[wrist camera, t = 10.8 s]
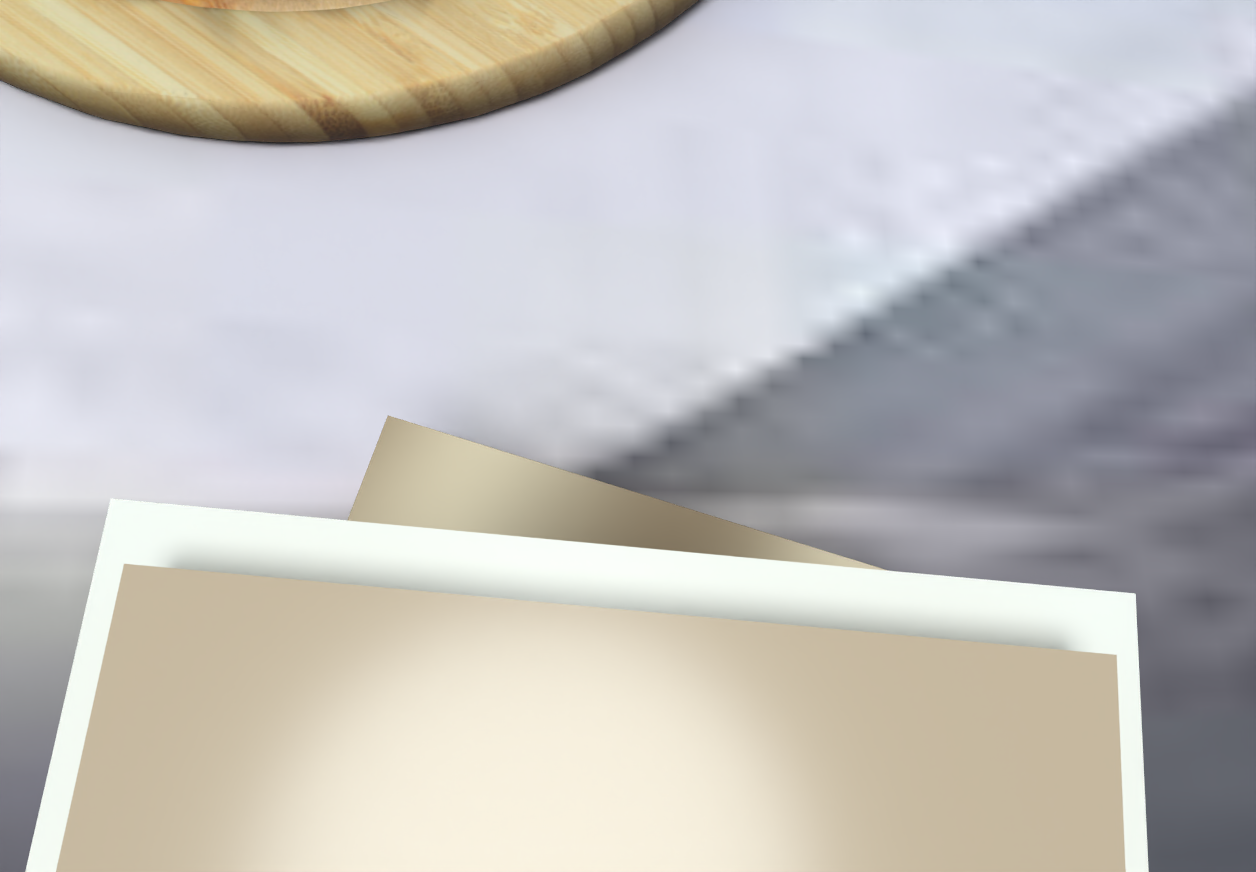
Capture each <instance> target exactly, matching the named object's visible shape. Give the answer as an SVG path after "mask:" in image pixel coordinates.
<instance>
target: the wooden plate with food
mask: <svg viewBox="0 0 1256 872" xmlns="http://www.w3.org/2000/svg"><path fill="white" fill-rule="evenodd" d="M697 1H699V0H0V80H2V81H4V82H6V83H8V84H10V85H13V86H15V87H17V88H20V89H22V90H25V91H28V92H30V93H33V94H36V95H38V96H41V97H44V98H46V99H49V100H52V101H54V102H57V103H60V104H63V105H65V106H68V107H71V108H73V109H76V110H79V111H82V112H85V113H88V114H91V115H94V116H97V117H100V118H103V119H107V120H112V121H117V122H122V123H127V124H132V125H137V126H142V127H147V128H152V129H156V130H161V131H166V132H170V133H175V134H180V135H188V136H196V137H204V138H214V139H223V140H237V141H258V142H322V141H333V140H345V139H356V138H366V137H375V136H382V135H388V134H393V133H399V132H404V131H409V130H415V129H420V128H425V127H430V126H434V125H439V124H444V123H448V122H453V121H457V120H462V119H466V118H471V117H475V116H479V115H482V114H485V113H487V112H490V111H493V110H496V109H499V108H502V107H505V106H508V105H511V104H513V103H516V102H519V101H522V100H525V99H528V98H531V97H533V96H536V95H539V94H542V93H544V92H547V91H549V90H552V89H554V88H557V87H559V86H561V85H563V84H565V83H567V82H569V81H572V80H574V79H576V78H578V77H580V76H582V75H584V74H586V73H589V72H590V71H592V70H594V69H595V68H597V67H599V66H601V65H602V64H604V63H606V62H607V61H609V60H611V59H613V58H614V57H616V56H618V55H619V54H621V53H623V52H625V51H626V50H628V49H630V48H631V47H633V46H635V45H636V44H638V43H639V42H641V41H643V40H644V39H646V38H647V37H649V36H651V35H652V34H654V33H656V32H657V31H659V30H660V29H662V28H664V27H665V26H666V25H667V24H669V23H670V22H671V21H673V20H674V19H675V18H676V17H678V16H679V15H680V14H682V13H683V12H684V11H686V10H687V9H688V8H689V7H691V6H692V5H693V4H695V3H696V2H697Z"/></svg>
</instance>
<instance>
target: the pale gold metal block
mask: <svg viewBox="0 0 1256 872" xmlns="http://www.w3.org/2000/svg"><path fill="white" fill-rule="evenodd" d="M347 521H358V522H369V523H379V524H390V525H401V526H412V527H422V528H433V529H444V530H455V531H465V532H476V533H487V534H498V535H509V536H519V537H530V538H541V539H552V540H562V541H573V542H584V543H595V544H605V545H616V546H627V547H638V548H649V549H659V550H670V551H681V552H692V553H702V554H713V555H724V556H735V557H745V558H756V559H767V560H778V561H789V562H799V563H810V564H821V565H832V566H842V567H853V568H864V569H875V570H885V569H882V568H878V567H875V566H872V565H869V564H865V563H862V562H859V561H856V560H852V559H849V558H846V557H843V556H840V555H836V554H833V553H830V552H827V551H823V550H820V549H817V548H814V547H811V546H807V545H804V544H801V543H798V542H794V541H791V540H788V539H785V538H782V537H778V536H775V535H772V534H769V533H765V532H762V531H759V530H756V529H752V528H749V527H746V526H743V525H740V524H736V523H733V522H730V521H727V520H723V519H720V518H717V517H714V516H711V515H707V514H704V513H701V512H698V511H694V510H691V509H688V508H685V507H681V506H678V505H675V504H672V503H669V502H665V501H662V500H659V499H656V498H652V497H649V496H646V495H643V494H640V493H636V492H633V491H630V490H627V489H623V488H620V487H617V486H614V485H611V484H607V483H604V482H601V481H598V480H594V479H591V478H588V477H585V476H581V475H578V474H575V473H572V472H569V471H565V470H562V469H559V468H556V467H552V466H549V465H546V464H543V463H540V462H536V461H533V460H530V459H527V458H523V457H520V456H517V455H514V454H510V453H507V452H504V451H501V450H498V449H494V448H491V447H488V446H485V445H481V444H478V443H475V442H472V441H469V440H465V439H462V438H459V437H456V436H452V435H449V434H446V433H443V432H440V431H436V430H433V429H430V428H427V427H423V426H420V425H417V424H414V423H410V422H407V421H404V420H401V419H398V418H394V417H391V416H388V417H387V419H386V422H385V424H384V427H383V430H382V432H381V435H380V437H379V440H378V442H377V445H376V448H375V450H374V453H373V455H372V458H371V461H370V463H369V466H368V468H367V471H366V473H365V476H364V479H363V481H362V484H361V486H360V489H359V492H358V494H357V497H356V499H355V502H354V504H353V507H352V510H351V512H350V515H349V517H348V520H347ZM885 571H888V570H885Z"/></svg>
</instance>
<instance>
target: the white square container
mask: <svg viewBox="0 0 1256 872" xmlns="http://www.w3.org/2000/svg"><path fill="white" fill-rule="evenodd" d="M26 872H1148V852H1147V831H1146V809H1145V788H1144V766H1143V745H1142V723H1141V702H1140V680H1139V659H1138V638H1137V616H1136V595H1135V594H1133V593H1122V592H1112V591H1101V590H1090V589H1079V588H1068V587H1058V586H1047V585H1036V584H1025V583H1015V582H1004V581H993V580H982V579H972V578H961V577H950V576H939V575H928V574H918V573H907V572H896V571H885V570H875V569H864V568H853V567H842V566H832V565H821V564H810V563H799V562H789V561H778V560H767V559H756V558H745V557H735V556H724V555H713V554H702V553H692V552H681V551H670V550H659V549H649V548H638V547H627V546H616V545H605V544H595V543H584V542H573V541H562V540H552V539H541V538H530V537H519V536H509V535H498V534H487V533H476V532H465V531H455V530H444V529H433V528H422V527H412V526H401V525H390V524H379V523H369V522H358V521H347V520H336V519H326V518H315V517H304V516H293V515H282V514H272V513H261V512H250V511H239V510H229V509H218V508H207V507H196V506H186V505H175V504H164V503H153V502H142V501H132V500H121V499H111V500H110V504H109V508H108V513H107V517H106V521H105V526H104V530H103V535H102V539H101V543H100V548H99V552H98V556H97V561H96V565H95V570H94V574H93V578H92V583H91V587H90V591H89V596H88V600H87V605H86V609H85V613H84V618H83V622H82V626H81V631H80V635H79V640H78V644H77V648H76V653H75V657H74V661H73V666H72V670H71V675H70V679H69V683H68V688H67V692H66V696H65V701H64V705H63V710H62V714H61V718H60V723H59V727H58V732H57V736H56V740H55V745H54V749H53V753H52V758H51V762H50V766H49V771H48V775H47V780H46V784H45V788H44V793H43V797H42V801H41V806H40V810H39V815H38V819H37V823H36V828H35V832H34V837H33V841H32V845H31V850H30V854H29V858H28V863H27V867H26Z"/></svg>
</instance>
